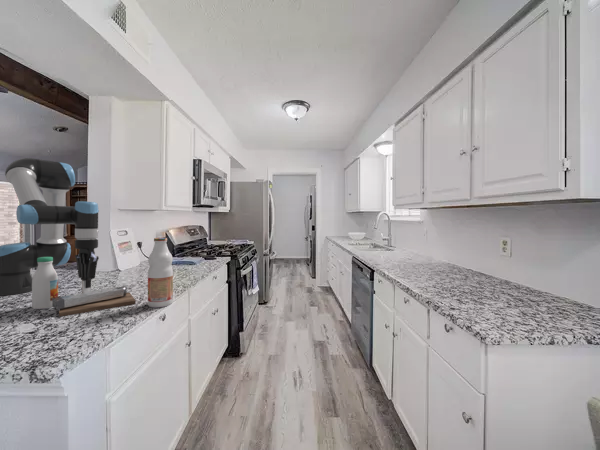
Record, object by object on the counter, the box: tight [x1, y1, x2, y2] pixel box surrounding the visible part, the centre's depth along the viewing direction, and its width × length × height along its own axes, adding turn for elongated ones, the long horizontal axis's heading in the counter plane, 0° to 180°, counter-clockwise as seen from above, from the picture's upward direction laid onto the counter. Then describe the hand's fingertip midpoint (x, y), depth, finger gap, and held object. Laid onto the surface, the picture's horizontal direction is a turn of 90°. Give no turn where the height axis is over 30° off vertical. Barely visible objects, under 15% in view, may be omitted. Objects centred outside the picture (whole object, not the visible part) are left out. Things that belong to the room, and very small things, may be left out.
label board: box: [58, 292, 137, 318], centre depth 112 cm, size 16×24×2 cm, turn 130°
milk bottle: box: [31, 257, 59, 310], centre depth 108 cm, size 8×8×20 cm
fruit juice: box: [147, 237, 174, 309], centre depth 113 cm, size 9×9×28 cm
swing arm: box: [52, 286, 128, 310], centre depth 111 cm, size 24×7×3 cm, turn 144°
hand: (86, 295), depth 112 cm, fingers closed
